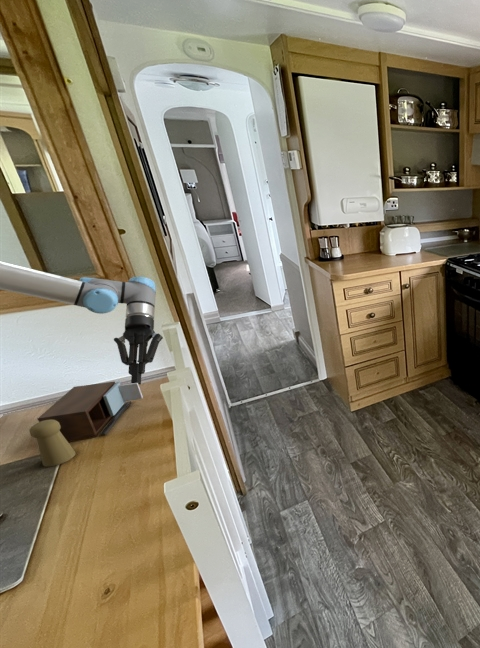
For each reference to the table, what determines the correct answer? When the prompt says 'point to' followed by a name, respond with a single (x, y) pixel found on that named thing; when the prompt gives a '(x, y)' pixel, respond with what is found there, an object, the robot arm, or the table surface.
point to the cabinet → (83, 412)
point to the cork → (51, 443)
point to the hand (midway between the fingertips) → (136, 383)
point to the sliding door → (121, 396)
